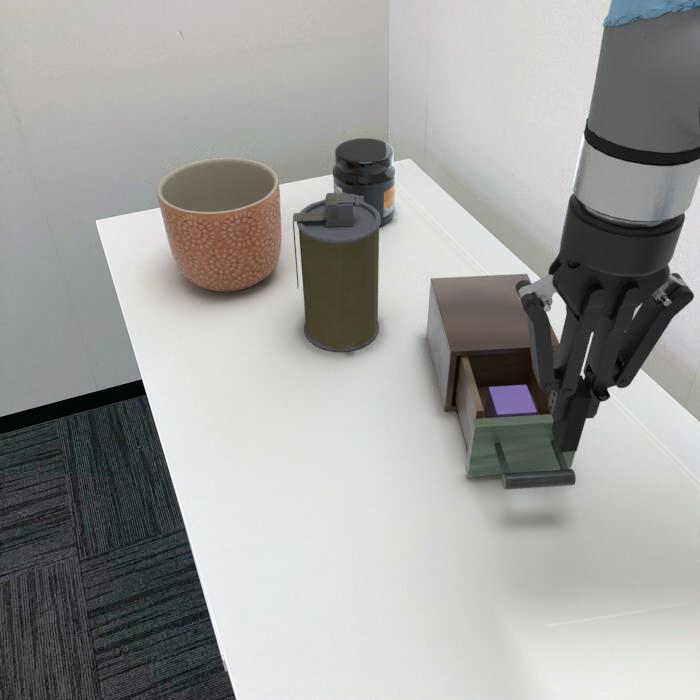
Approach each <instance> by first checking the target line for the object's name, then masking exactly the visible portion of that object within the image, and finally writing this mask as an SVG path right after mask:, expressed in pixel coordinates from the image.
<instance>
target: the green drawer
mask: <svg viewBox="0 0 700 700" xmlns="http://www.w3.org/2000/svg"><path fill="white" fill-rule="evenodd" d="M514 385H527V387H528V390H529V392H530V395H531V398H532V400H533V403H534V406H535V408H536V411H537V414H536V415H532V416H515V417H498V418H485V415H484V412H485V406H486V400H487V394H488V387H496V386H514ZM550 393H551V391H550V392H543V391H541V389H540V386H539V384H538V381H537V379H536V376H535V374H534V371H533V367H532V358H531V352H525V353H506V354H488V355H469V356H457V362H456V371H455V379H454V388H453V394H454V398H455V402H456V406H457V409H458V411H457V413H458V417H459V420H460V424H461V428H462V432H463V436H464V440H465V443H466V447H467V456H466V463H465V472H466V475H467V477H479V476H480V477H481V476H497V475H501V485H502V488H503V490H506V491H507V490H520V489H538V488H539V489H540V488H553V487H569V486H571V487H572V486H575V485H576V479H577V478H576V473H575V470H574V469H573V468H572V466H573V463H574V459H575V455H576V452H577V451H574V452H560V451H559V449H558V446H557V444H556V441H555V438H554V436H553V433H552V430H551V429H552V425H553V421H554V420H553V418H552V415H551V412H550V410H549V407H548V402H549V398H550Z"/></svg>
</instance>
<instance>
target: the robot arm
mask: <svg viewBox="0 0 700 700" xmlns="http://www.w3.org/2000/svg"><path fill="white" fill-rule="evenodd" d="M602 27H603V32H602V38H601V43H600V49H599V56H598V61H597V68H596V72H595V80H594V84H593V91H592V95H591V101H590V106H589V110H588V116H587V118H586V120H585V127H584V130H583V133H582V138H581V143H580V146H579V150H578V151H579V152H578V156H577V160H576V161H577V162H576V166H575V171H574V176H573V181H572V192H573V193H572V194H571V195H570V197H569V200H568V203H567V208H566V213H565V217H564V221H563V226H562V227H563V228H562V231H561V237H560V245H559V251H558V253H557V256H556V257H555V259H554V260H553V261H552V262H551V263H550V265H549V268H548V270H547V271H548V274H547V275H545V276H543V277H541V278H539V279H537V280H536V281H534V282H531V283H532V284H531V283H530V282H529V281H527V280H522V281H519V282H518V283H517V284H516V286H515V289H516V292H517V294H518V297H519V299H520V301H521V304H522V306H523V309H524V311H525V312H526V315H527V323H528V332H529V341H530V349H531V358H532V367H533V371H534V374H535V376H536V379H537V381H538V384H539V386H540V389H541V391H543V392H550V391H551V393H550V398H549V402H548V407H549V410H550V412H551V415H552V418H553V420H554V421H553V425H552V429H551V430H552V433H553V436H554V438H555V441H556V444H557V446H558V449H559V451H560V452H574V451H576V452H577V451H578V448H579V444H580V440H581V437H582V434H583V431H584V427H585V424H586V420H587V419H594V418H595V417H596V415H597V414H598V410H599V407H600V404H601V403H603V402H606V401H608V400H609V399H610V398H611V394H610V392H609V388H613V387H615V386H616V387H617V388H618V389H625V388H627V387H629V386H630V385H631V384H632V382H633V380H634V379H635V377H636V376H637V374H638V373H639V371H640V370H641V369H642V366H643V365H644V363H645V362H646V360H647V359H648V357H649V356H650V354H651V353H652V351H653V349H654V348H655V346H657V344H658V342H659V340H660V338H661V337H662V336H663V334H664V333H665V331H666V330H667V328H668V326H669V324H670V323H671V322H672V320H673V318H674V317H675V316H676V315H678V314H679V313H680V312H681V311H682V310H684V308H686V307H687V306H688V305H689V304H690V303H691V302H692V301H693V300H694V298H695V294H694V292H693V291H692V290H691V289H690V287H689V285H688V284H687V283H686V281H685V280H684V279H683V278H682V276H681V275H680V274H679V273H678V272H672V273H671V268H670V266H669V264H670V262H671V260H672V259H673V256H674V254H675V250H676V248H677V246H678V245H677V244H678V242H679V239H680V235H681V232H682V230H683V227H684V224H685V219H686V214H685V213H686V211H688V209H689V208H690V207H691V205H692V201H693V199H694V195H695V191H696V189H697V185H698V181H699V179H700V0H611V1H610V4H609V9H608V12H607V15H606V16H605V17H604V19H603V23H602ZM556 292H557V294H558V295H559V296H560V298H561V299H562V301H563V302H564V304H565V311H566V312H565V313H566V315H565V318H564V322H563V327H562V332H561V335H560V340H559V343H560V344H559V348H558V352H557V356H556V361H555V365H554V363H553V352H552V341H551V329H550V324H551V321H550V319H549V315H548V312H550V311H551V310H552V305H553V296H554V294H556ZM638 307H639V308H638ZM636 309H638V310H637V311H636ZM635 312H636V313H635ZM589 345H590V346H589ZM588 347H589V349H588ZM587 351H588V352H587ZM586 355H587V356H586ZM585 359H586V360H585ZM584 362H585V363H584ZM582 370H583V372H582ZM582 373H583V374H582ZM581 374H582V375H581ZM583 376H584V377H583Z"/></svg>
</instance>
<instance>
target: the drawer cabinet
mask: <svg viewBox="0 0 700 700" xmlns="http://www.w3.org/2000/svg"><path fill="white" fill-rule="evenodd" d="M522 280H527V281H529V282H530V283H531V284H532V283H533V282H532V281H531V279H530V277H529V274H528V273H513V274H493V275H492V274H490V275H475V276H474V275H472V276H471V275H470V276H451V277H431V278H430V281H429V295H428V309H427V323H426V340H427V345H428V348H429V352H430V358H431V361H432V366H433V369H434V373H435V378H436V382H437V387H438V390H439V394H440V399H441V403H442V406H443V410H444V412H458V409H457V406H456V402H455V398H454V394H453V388H454V379H455V371H456V362H457V356H469V355H488V354H506V353H525V352H531V349H530V341H529V332H528V323H527V315H526V312H525V311H524V309H523V306H522V304H521V301H520V299H519V297H518V294H517V292H516V289H515V286H516V284H517V283H518V282H519V281H522ZM550 329H551V341H552V352H553V363H554V365H555V361H556V356H557V352H558V348H559V344H560V340H559V339H558V337H557V335H556V333H555V331H554V328H553V326H552V323H550Z"/></svg>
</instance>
